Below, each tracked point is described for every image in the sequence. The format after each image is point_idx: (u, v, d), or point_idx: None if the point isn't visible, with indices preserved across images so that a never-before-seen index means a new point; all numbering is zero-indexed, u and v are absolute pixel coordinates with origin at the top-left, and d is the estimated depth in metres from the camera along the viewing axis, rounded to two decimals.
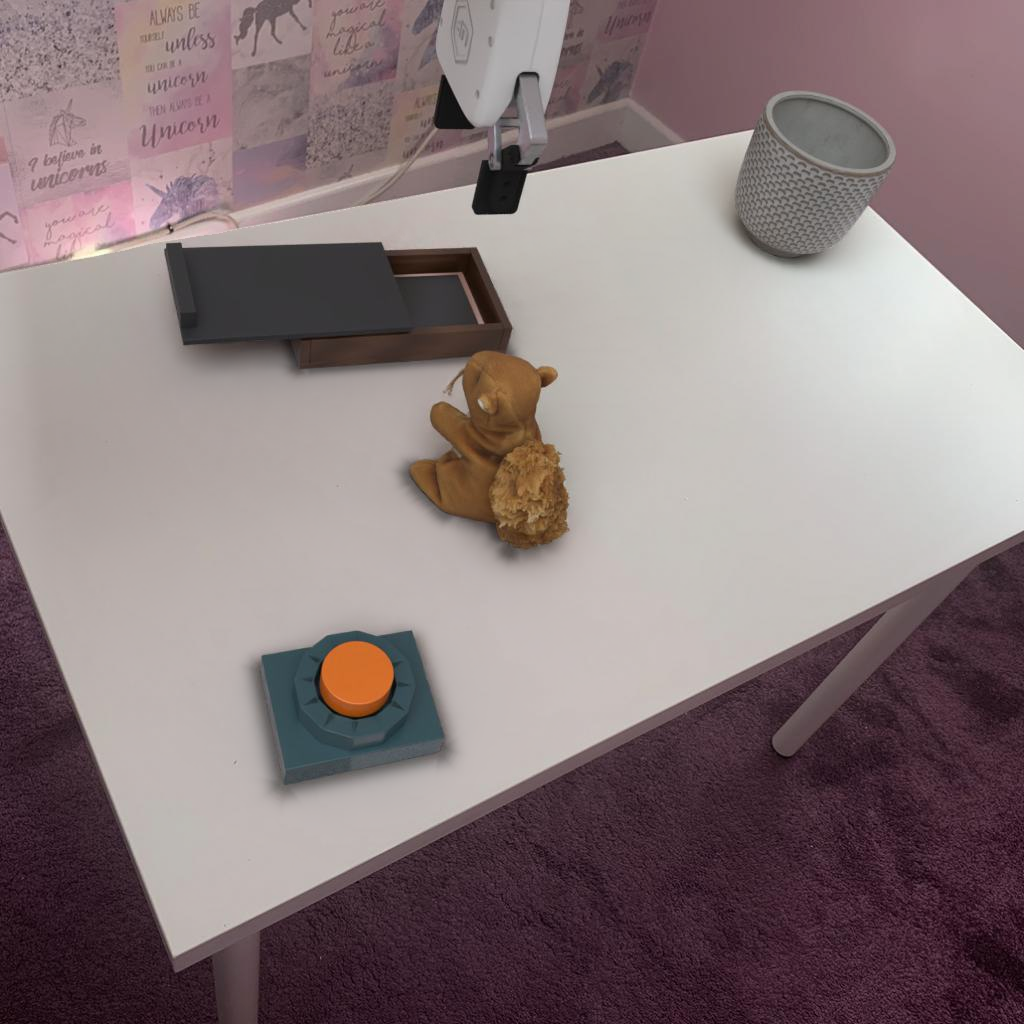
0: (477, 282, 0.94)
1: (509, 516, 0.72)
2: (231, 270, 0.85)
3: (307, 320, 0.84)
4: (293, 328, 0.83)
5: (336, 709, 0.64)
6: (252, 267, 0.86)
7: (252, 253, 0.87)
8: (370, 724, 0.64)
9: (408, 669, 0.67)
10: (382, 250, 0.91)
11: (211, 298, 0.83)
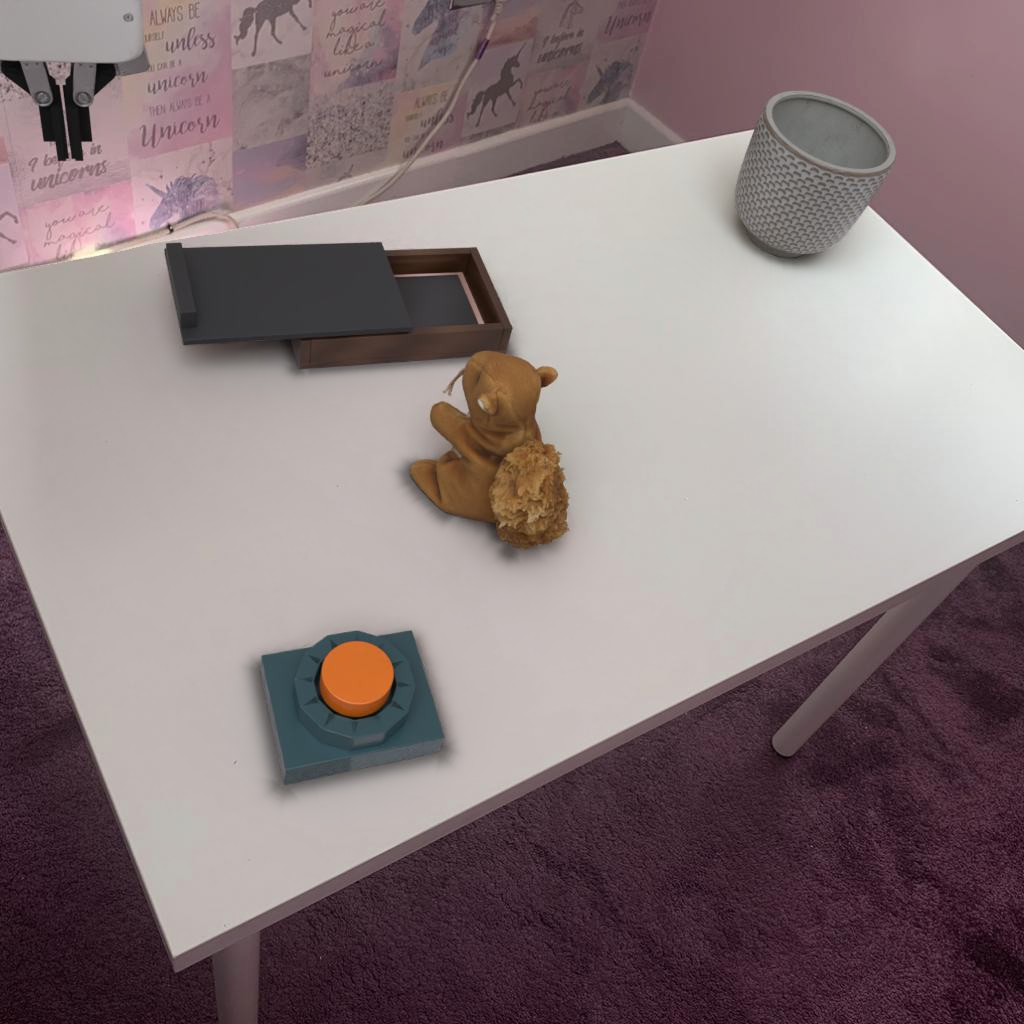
0: (477, 282, 0.94)
1: (509, 516, 0.72)
2: (231, 270, 0.85)
3: (307, 320, 0.84)
4: (293, 328, 0.83)
5: (336, 709, 0.64)
6: (252, 267, 0.86)
7: (252, 253, 0.87)
8: (370, 724, 0.64)
9: (408, 669, 0.67)
10: (382, 250, 0.91)
11: (211, 298, 0.83)
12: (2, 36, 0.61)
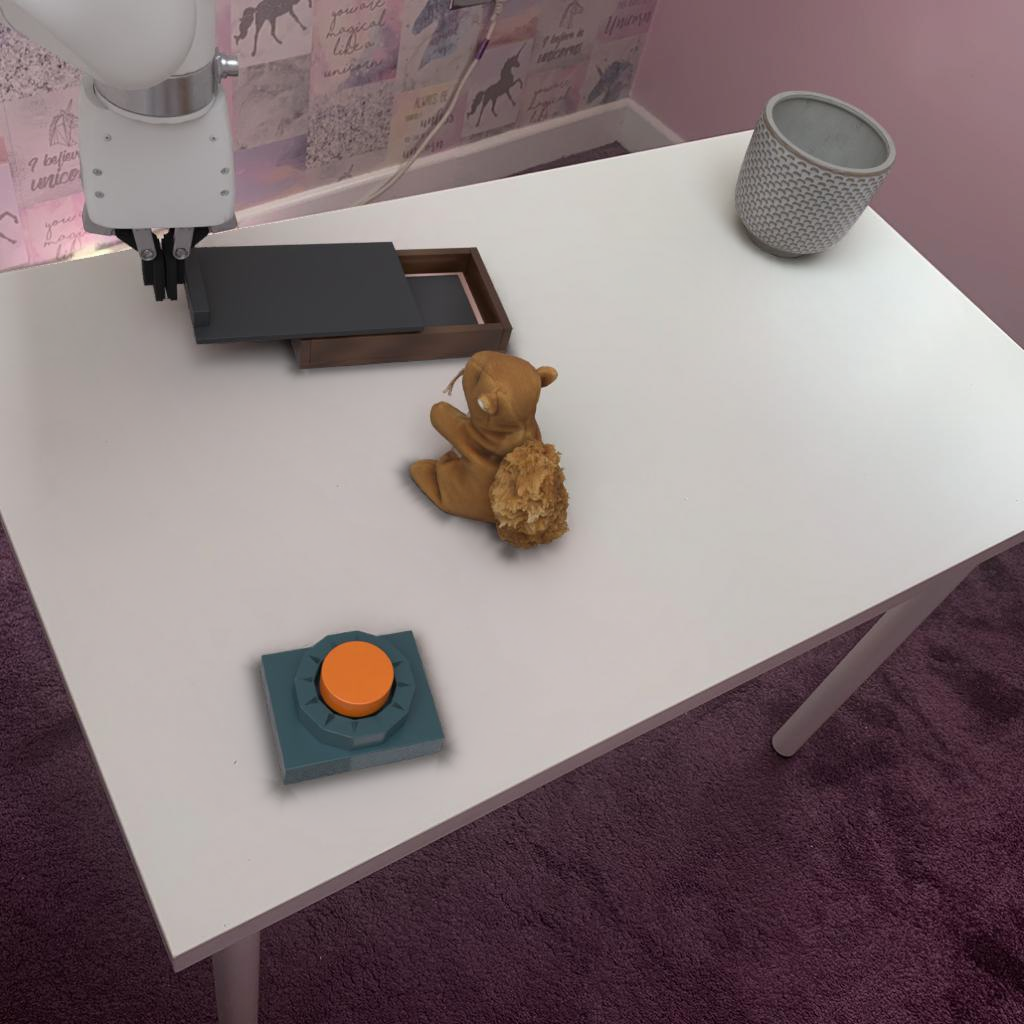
0: (477, 282, 0.94)
1: (509, 516, 0.72)
2: (243, 270, 0.86)
3: (319, 319, 0.84)
4: (305, 328, 0.83)
5: (336, 709, 0.64)
6: (264, 267, 0.87)
7: (264, 253, 0.88)
8: (370, 724, 0.64)
9: (408, 669, 0.67)
10: (393, 250, 0.91)
11: (223, 297, 0.83)
12: (120, 212, 0.73)
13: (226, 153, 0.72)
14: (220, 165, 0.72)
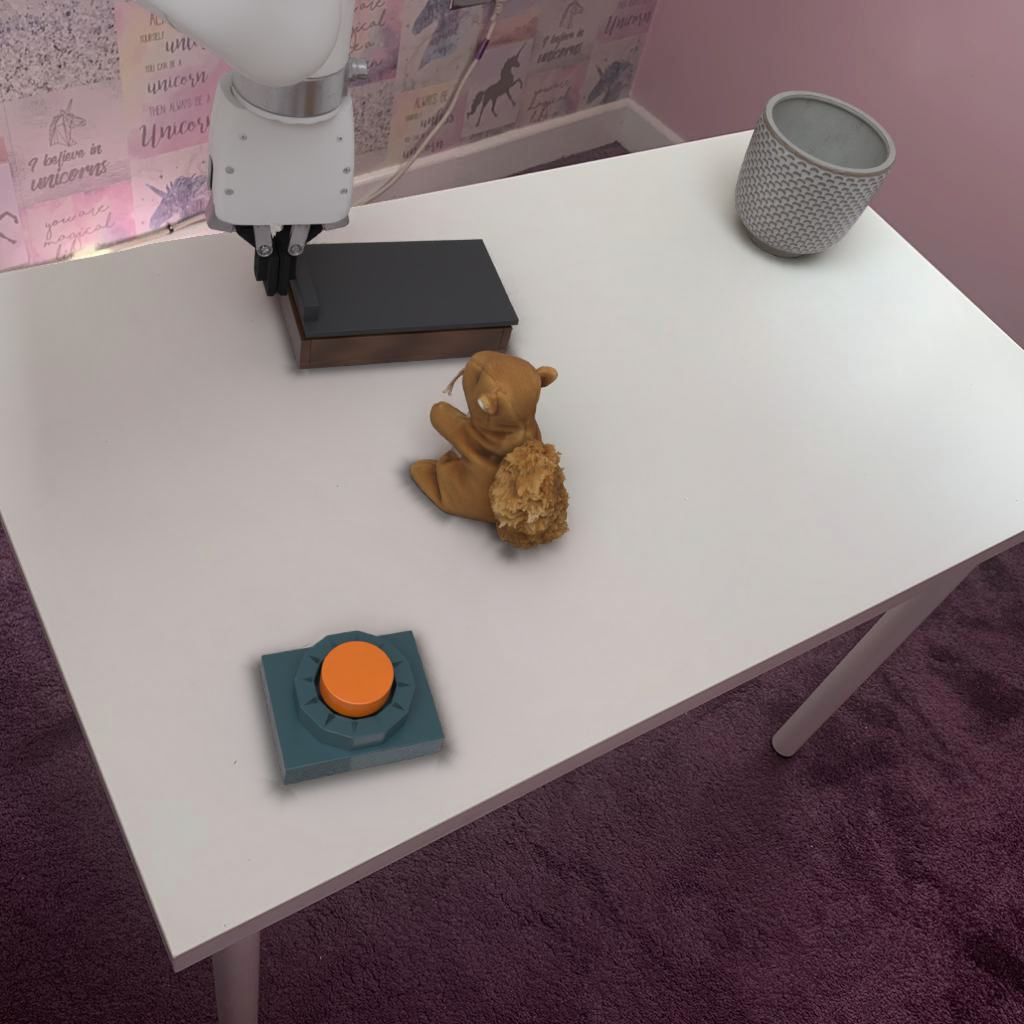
0: None
1: (509, 516, 0.72)
2: (345, 266, 0.89)
3: (420, 314, 0.87)
4: (407, 322, 0.86)
5: (336, 709, 0.64)
6: (364, 263, 0.90)
7: (363, 249, 0.91)
8: (370, 724, 0.64)
9: (408, 669, 0.67)
10: (483, 247, 0.95)
11: (328, 292, 0.86)
12: (246, 209, 0.76)
13: (349, 153, 0.75)
14: (343, 164, 0.76)
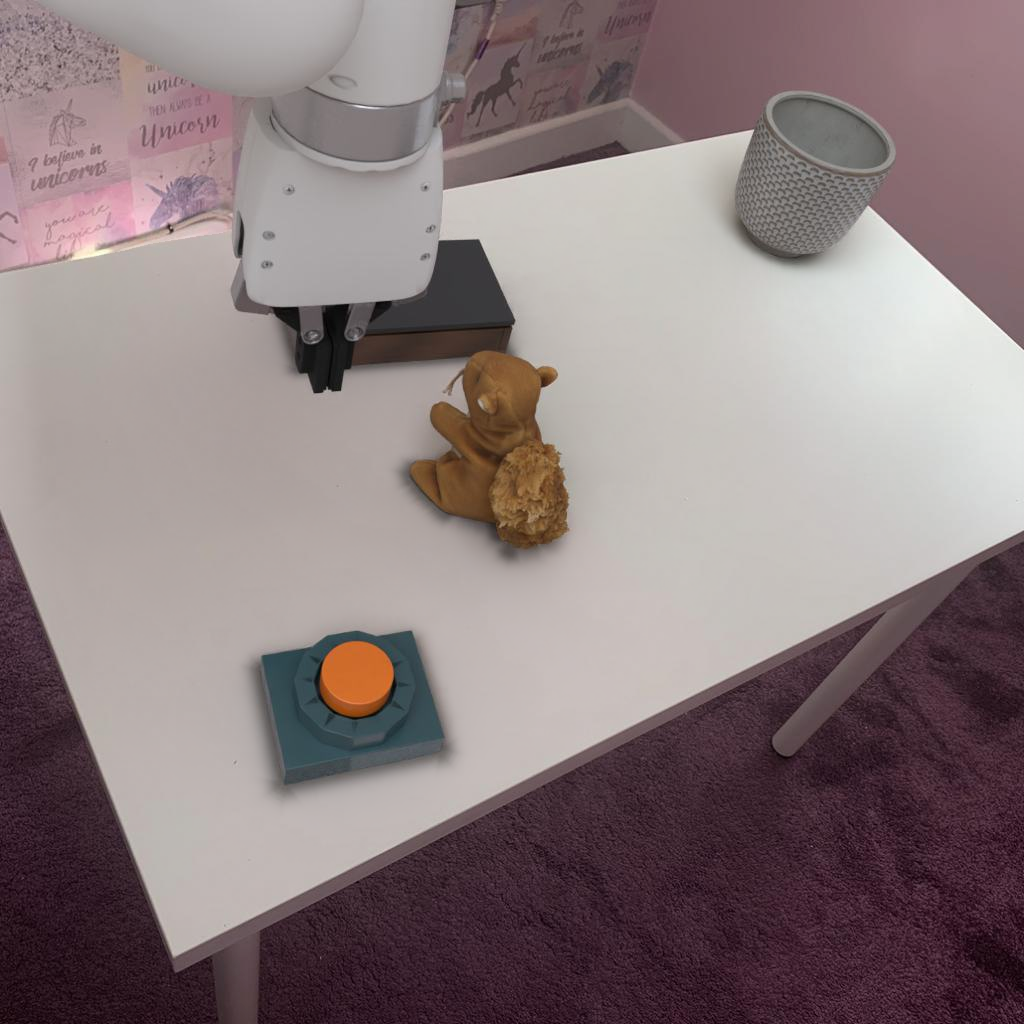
0: None
1: (509, 516, 0.72)
2: None
3: (416, 314, 0.87)
4: (404, 322, 0.86)
5: (336, 709, 0.64)
6: None
7: None
8: (370, 724, 0.64)
9: (408, 669, 0.67)
10: (480, 247, 0.94)
11: None
12: (291, 286, 0.54)
13: (437, 206, 0.53)
14: (427, 222, 0.54)
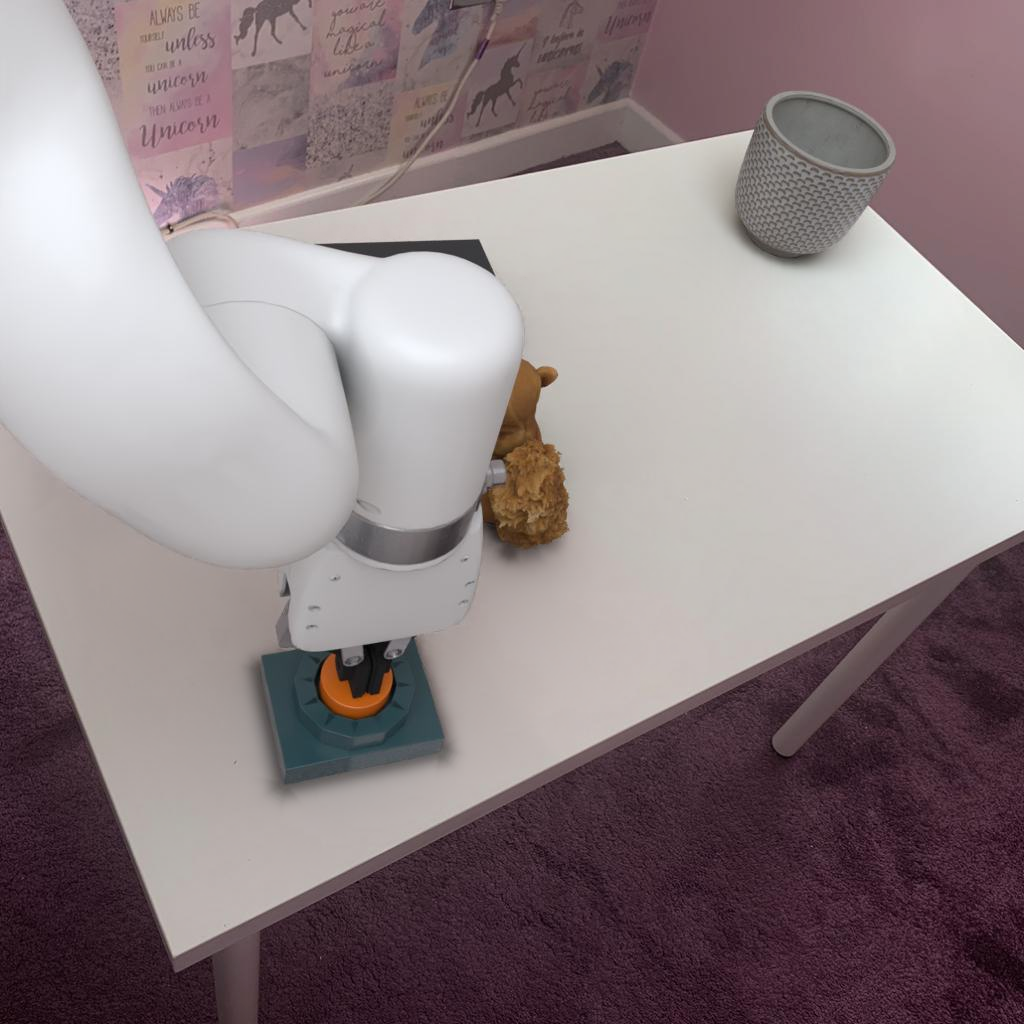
0: None
1: (509, 516, 0.72)
2: None
3: None
4: None
5: (335, 713, 0.65)
6: None
7: (359, 250, 0.91)
8: (370, 724, 0.64)
9: (408, 669, 0.67)
10: (480, 247, 0.94)
11: None
12: (334, 638, 0.56)
13: (475, 568, 0.55)
14: (466, 580, 0.55)
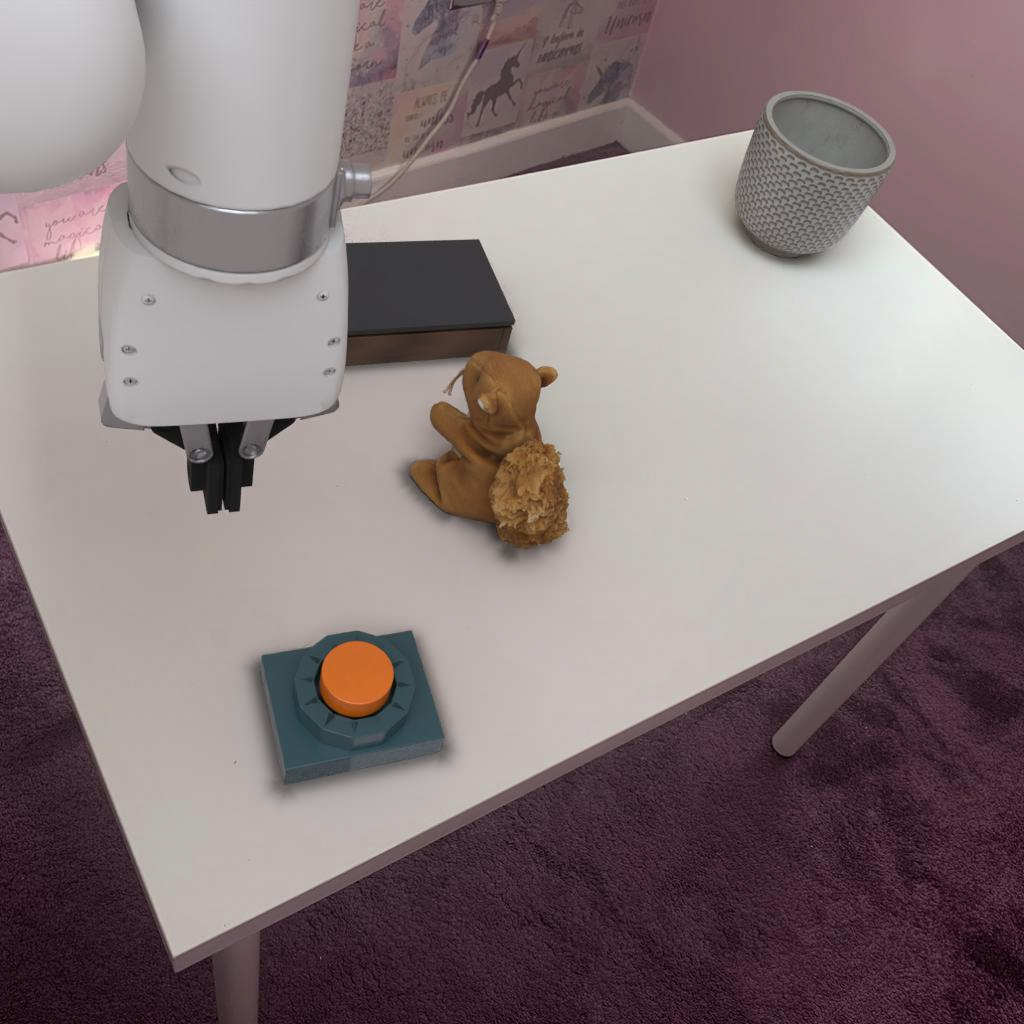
0: None
1: (509, 516, 0.72)
2: None
3: (416, 314, 0.87)
4: (404, 322, 0.86)
5: (336, 709, 0.64)
6: (360, 263, 0.89)
7: (359, 250, 0.91)
8: (370, 724, 0.64)
9: (408, 669, 0.67)
10: (480, 247, 0.94)
11: None
12: (163, 405, 0.45)
13: (339, 317, 0.44)
14: (328, 334, 0.45)
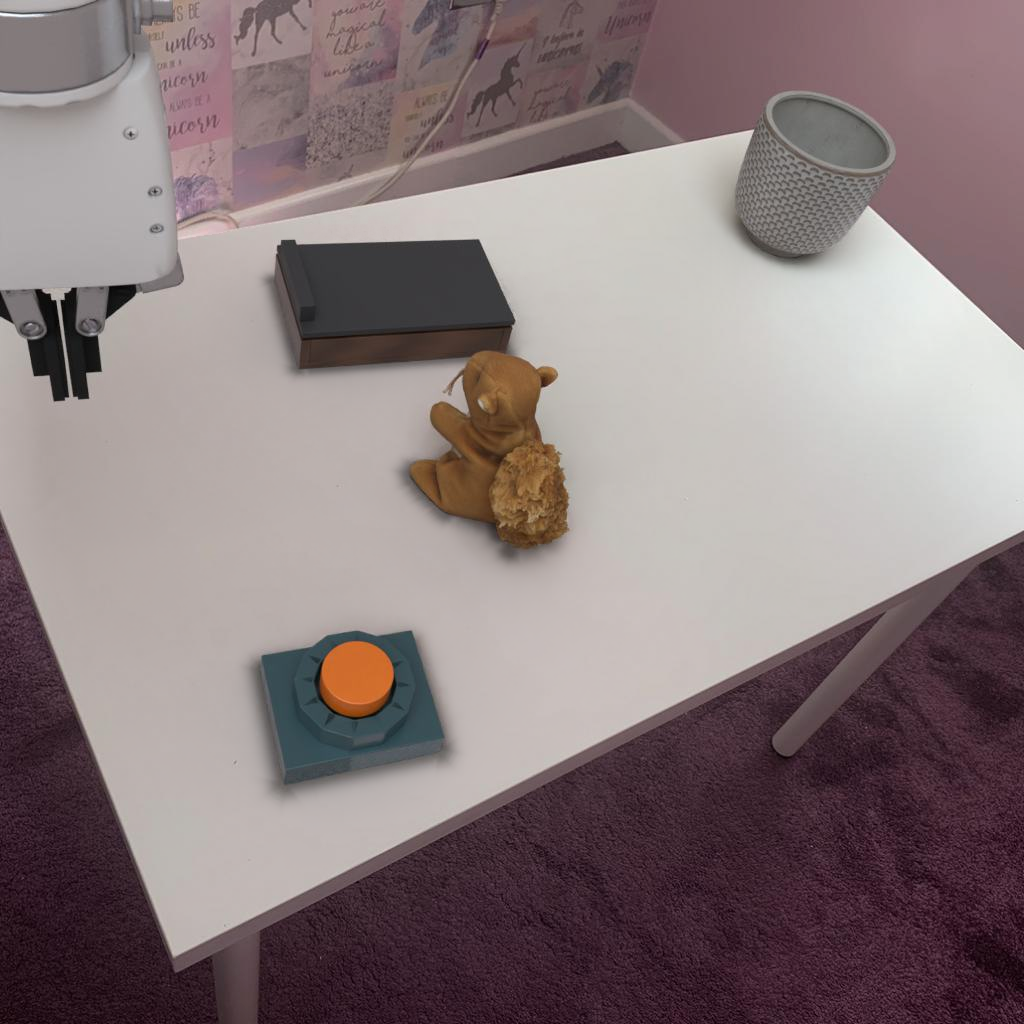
0: None
1: (509, 516, 0.72)
2: (341, 266, 0.89)
3: (416, 314, 0.87)
4: (404, 322, 0.86)
5: (336, 709, 0.64)
6: (360, 263, 0.89)
7: (359, 250, 0.91)
8: (370, 724, 0.64)
9: (408, 669, 0.67)
10: (480, 247, 0.94)
11: (324, 293, 0.86)
12: None
13: (156, 161, 0.41)
14: (146, 182, 0.41)
